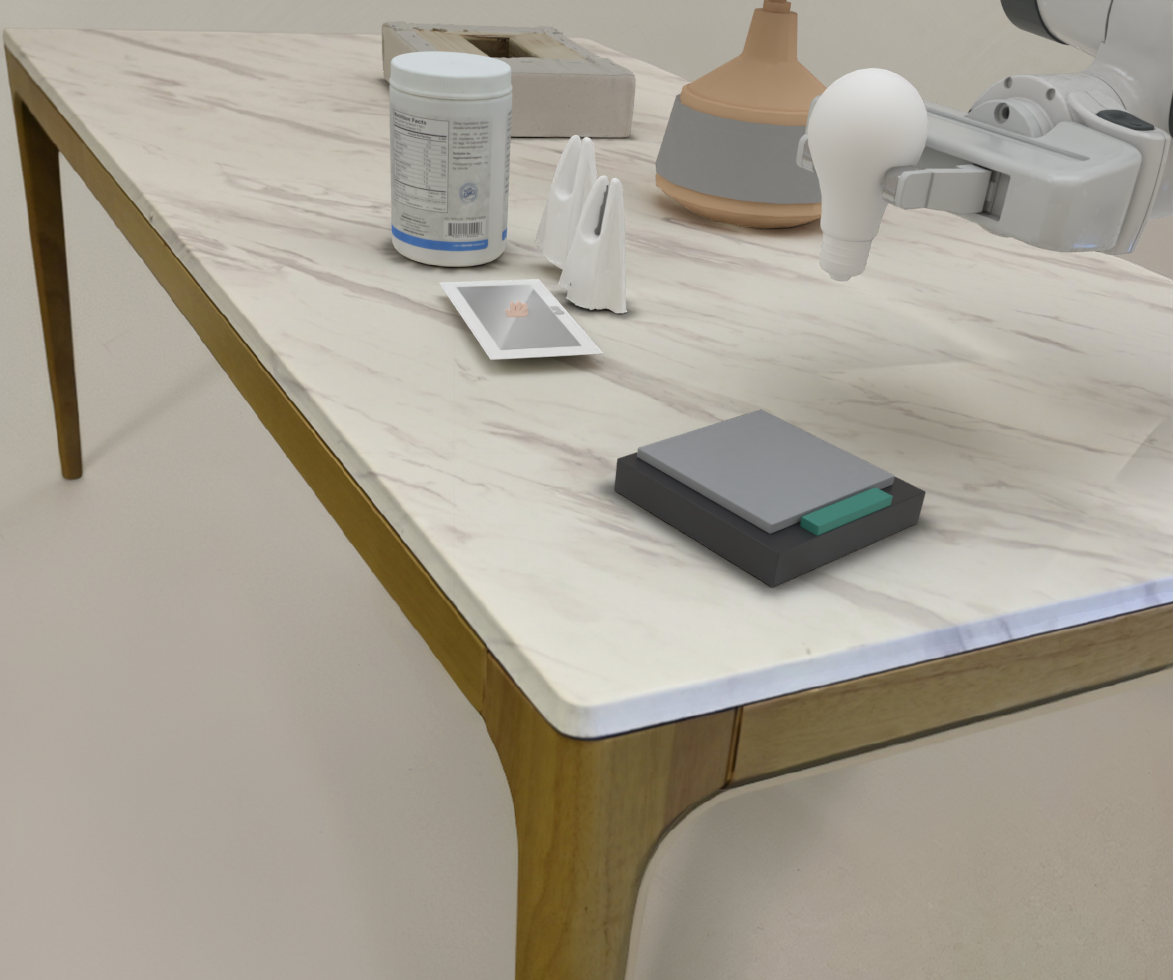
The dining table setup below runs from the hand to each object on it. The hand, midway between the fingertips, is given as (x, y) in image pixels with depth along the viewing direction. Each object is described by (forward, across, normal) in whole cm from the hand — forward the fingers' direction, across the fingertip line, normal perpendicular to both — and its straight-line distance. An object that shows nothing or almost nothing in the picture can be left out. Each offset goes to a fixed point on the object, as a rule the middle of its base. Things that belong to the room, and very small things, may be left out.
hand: (847, 170), depth 64 cm
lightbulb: (-1, 0, +6) cm, 6 cm away
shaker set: (-2, -31, +17) cm, 35 cm away
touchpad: (+6, -24, +17) cm, 30 cm away
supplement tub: (+4, -42, +17) cm, 45 cm away
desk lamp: (-30, -46, +17) cm, 58 cm away
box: (-26, -92, +17) cm, 97 cm away
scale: (+5, +4, +17) cm, 18 cm away
